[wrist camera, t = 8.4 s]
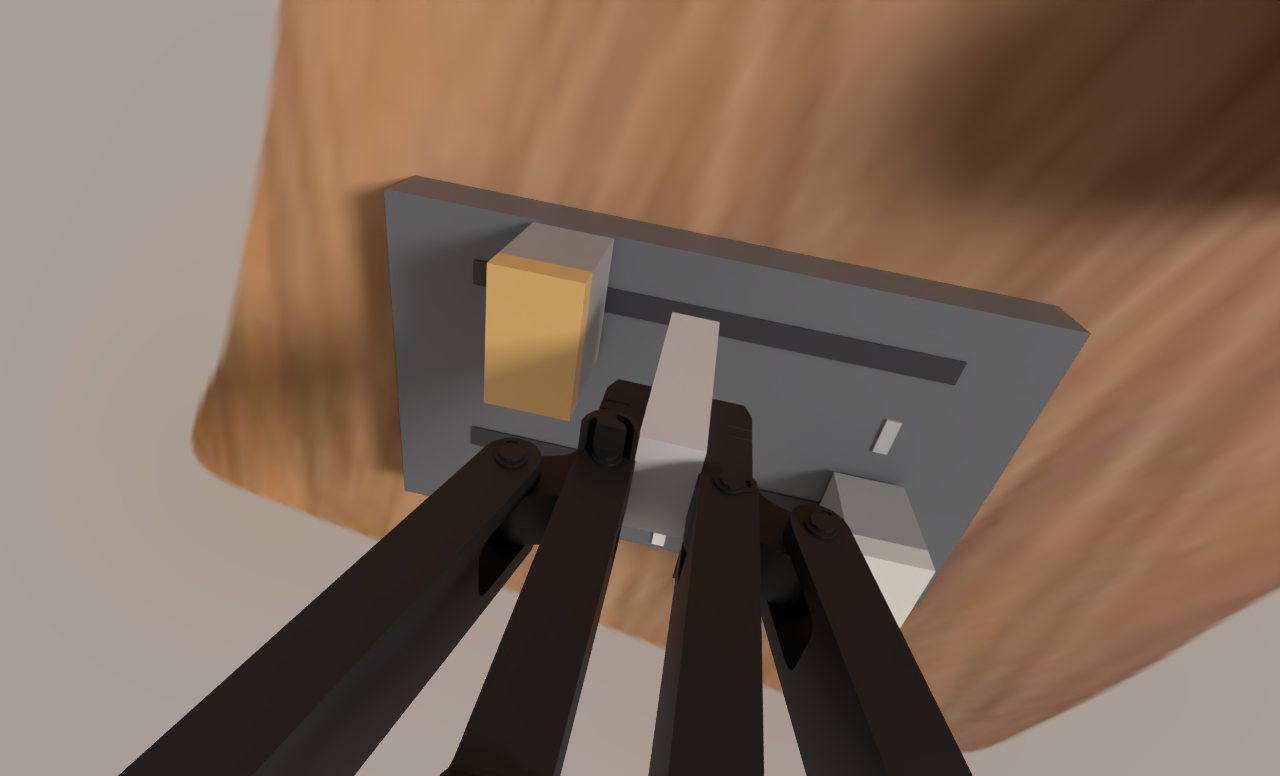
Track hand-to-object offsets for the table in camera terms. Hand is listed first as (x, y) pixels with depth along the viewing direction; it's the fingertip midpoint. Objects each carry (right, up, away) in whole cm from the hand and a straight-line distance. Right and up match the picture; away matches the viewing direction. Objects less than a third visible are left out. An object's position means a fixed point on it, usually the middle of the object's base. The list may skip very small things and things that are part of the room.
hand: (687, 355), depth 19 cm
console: (+1, -1, +9) cm, 9 cm away
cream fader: (+8, -7, +7) cm, 13 cm away
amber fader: (-4, +3, +4) cm, 6 cm away
